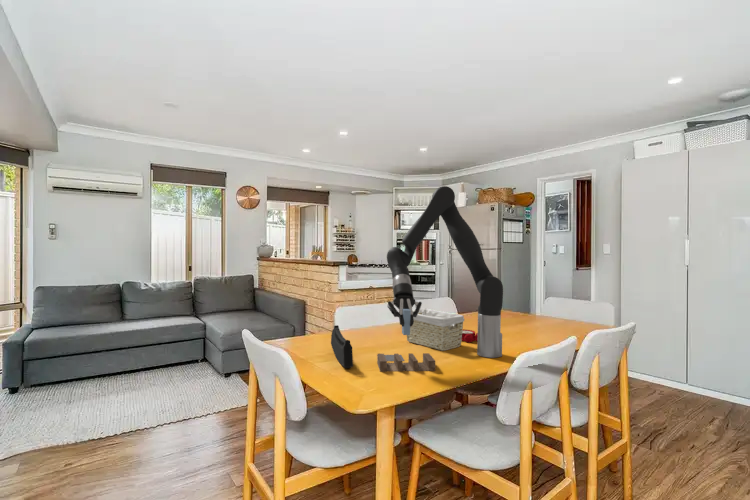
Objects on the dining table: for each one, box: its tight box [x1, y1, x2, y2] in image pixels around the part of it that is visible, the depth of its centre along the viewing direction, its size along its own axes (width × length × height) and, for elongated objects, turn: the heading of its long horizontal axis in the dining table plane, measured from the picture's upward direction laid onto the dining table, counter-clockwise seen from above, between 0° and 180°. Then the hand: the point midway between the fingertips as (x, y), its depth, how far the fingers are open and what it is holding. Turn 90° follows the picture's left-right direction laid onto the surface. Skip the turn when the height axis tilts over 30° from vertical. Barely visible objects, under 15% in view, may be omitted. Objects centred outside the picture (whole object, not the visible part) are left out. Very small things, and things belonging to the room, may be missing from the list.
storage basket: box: [406, 308, 465, 352], centre depth 182 cm, size 24×16×15 cm
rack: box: [376, 353, 436, 373], centre depth 145 cm, size 20×10×4 cm, turn 95°
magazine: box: [330, 324, 354, 369], centre depth 154 cm, size 17×3×30 cm
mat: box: [384, 354, 405, 362], centre depth 157 cm, size 10×9×1 cm
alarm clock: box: [461, 328, 478, 343], centre depth 192 cm, size 10×6×15 cm
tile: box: [401, 309, 411, 336], centre depth 145 cm, size 2×4×9 cm, turn 5°
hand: (407, 325), depth 143 cm, fingers closed on tile, 2 cm apart
